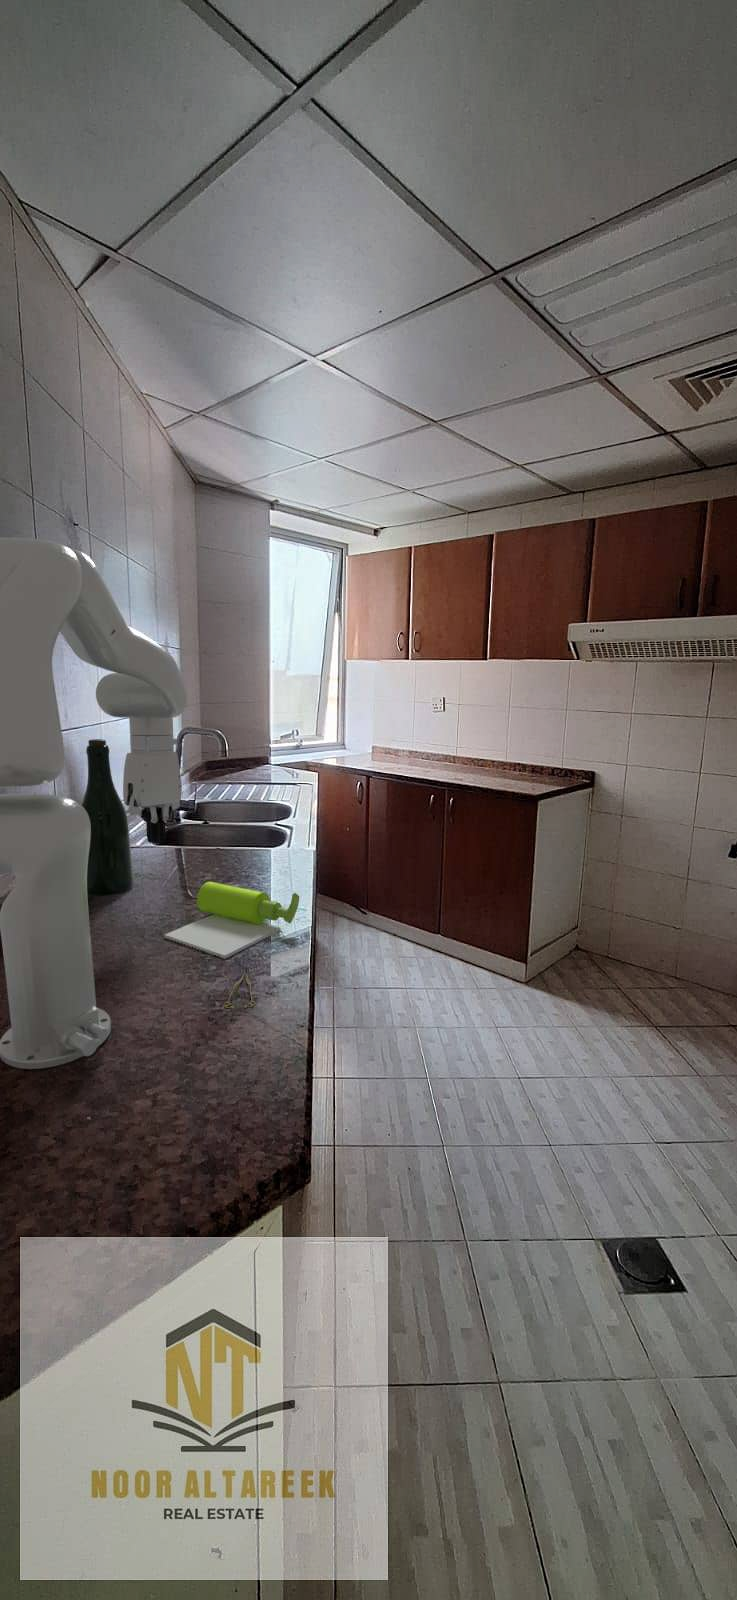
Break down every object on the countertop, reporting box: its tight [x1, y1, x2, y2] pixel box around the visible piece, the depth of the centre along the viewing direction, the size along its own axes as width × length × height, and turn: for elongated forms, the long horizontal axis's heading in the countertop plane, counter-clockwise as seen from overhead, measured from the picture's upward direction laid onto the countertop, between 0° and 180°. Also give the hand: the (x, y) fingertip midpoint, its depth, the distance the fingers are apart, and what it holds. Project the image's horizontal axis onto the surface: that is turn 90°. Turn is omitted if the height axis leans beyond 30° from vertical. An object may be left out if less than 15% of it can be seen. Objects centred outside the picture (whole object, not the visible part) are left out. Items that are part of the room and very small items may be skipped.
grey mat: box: [164, 913, 281, 960], centre depth 108 cm, size 15×14×1 cm
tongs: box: [224, 966, 256, 1010], centre depth 89 cm, size 4×13×2 cm, turn 11°
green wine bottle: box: [80, 738, 134, 897], centre depth 127 cm, size 10×10×33 cm
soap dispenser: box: [196, 881, 300, 924], centre depth 113 cm, size 6×7×20 cm
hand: (156, 842), depth 112 cm, fingers closed
